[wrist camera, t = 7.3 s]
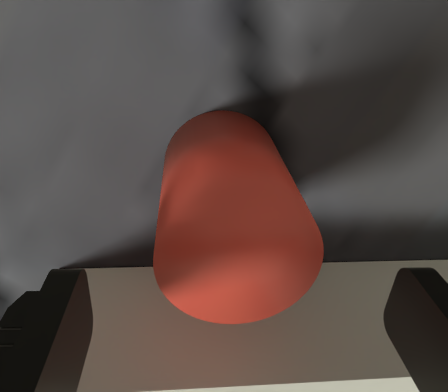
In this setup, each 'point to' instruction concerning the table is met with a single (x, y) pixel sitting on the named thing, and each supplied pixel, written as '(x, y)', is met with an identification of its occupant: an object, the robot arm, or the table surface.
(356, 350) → the panel
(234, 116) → the cap
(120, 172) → the table surface
